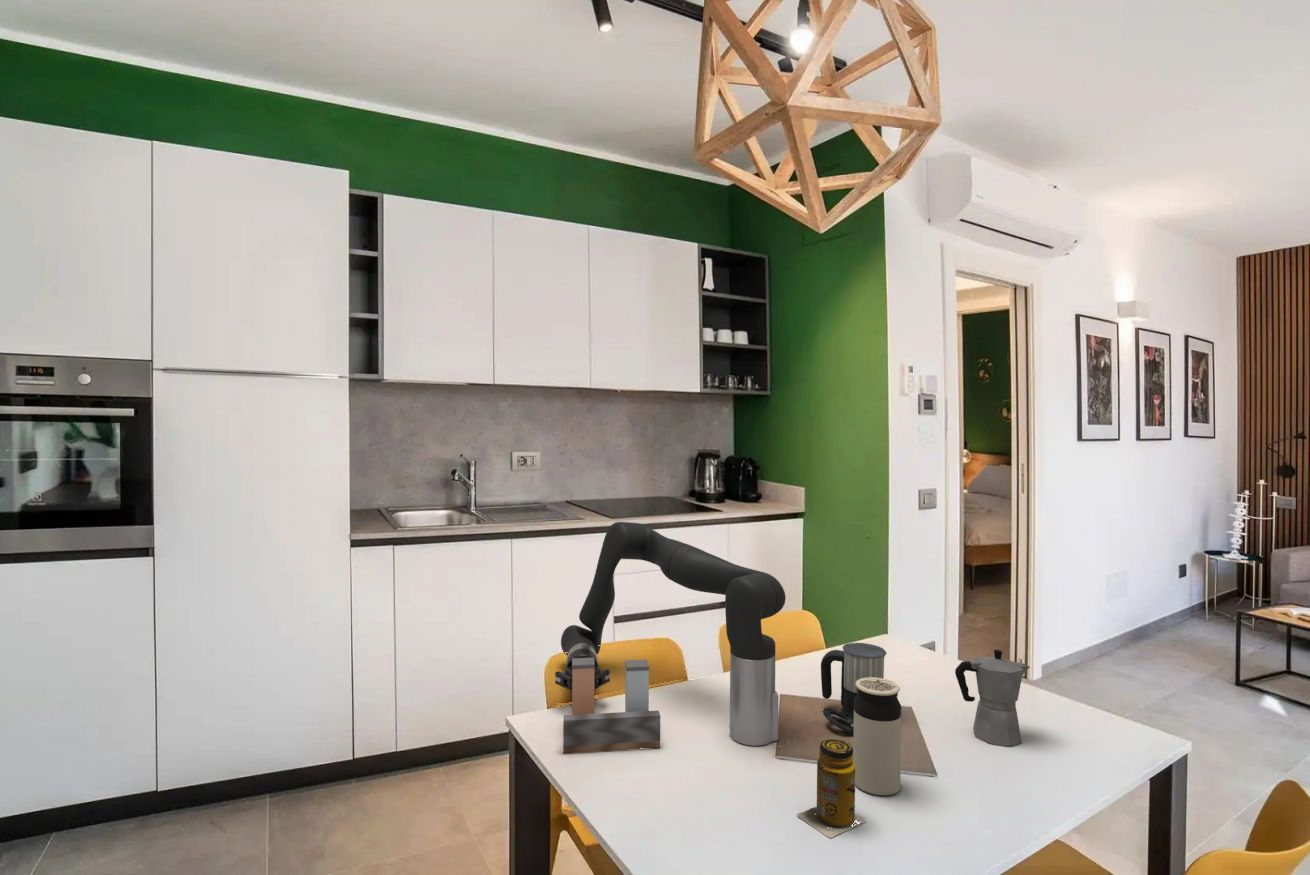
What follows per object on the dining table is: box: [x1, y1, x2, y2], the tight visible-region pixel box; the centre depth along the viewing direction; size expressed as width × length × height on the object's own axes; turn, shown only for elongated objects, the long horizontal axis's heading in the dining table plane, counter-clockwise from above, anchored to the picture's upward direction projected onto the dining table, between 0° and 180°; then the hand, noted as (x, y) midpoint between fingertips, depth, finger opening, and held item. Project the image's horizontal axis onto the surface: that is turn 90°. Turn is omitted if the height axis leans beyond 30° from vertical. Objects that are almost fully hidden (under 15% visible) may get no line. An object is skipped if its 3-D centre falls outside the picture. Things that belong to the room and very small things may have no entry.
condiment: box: [796, 738, 867, 839], centre depth 110 cm, size 7×8×12 cm
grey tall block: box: [624, 659, 650, 712], centre depth 140 cm, size 5×4×13 cm
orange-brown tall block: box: [571, 658, 595, 715], centre depth 141 cm, size 5×4×13 cm
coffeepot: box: [954, 649, 1031, 748], centre depth 139 cm, size 15×9×18 cm, turn 92°
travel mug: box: [853, 677, 902, 796], centre depth 120 cm, size 8×8×18 cm
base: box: [562, 710, 661, 755], centre depth 140 cm, size 19×14×6 cm
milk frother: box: [820, 642, 887, 734], centre depth 146 cm, size 14×16×15 cm
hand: (583, 691), depth 144 cm, fingers closed
